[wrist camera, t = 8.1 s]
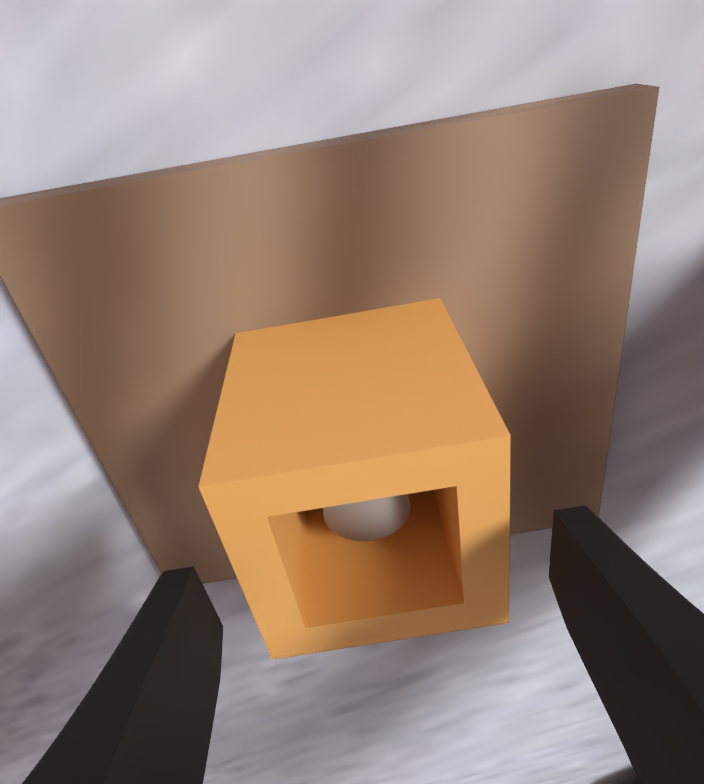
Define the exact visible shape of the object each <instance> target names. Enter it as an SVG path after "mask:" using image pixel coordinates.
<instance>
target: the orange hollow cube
mask: <svg viewBox="0 0 704 784" xmlns="http://www.w3.org/2000/svg"><path fill="white" fill-rule="evenodd" d="M510 444H511V435H510V433H509V431H508V429H507V427H506V425H505V424H504V422H503V420H502V418H501V416H500V414H499V412H498V410H497V408H496V406H495V404H494V402H493V400H492V398H491V396H490V394H489V392H488V390H487V388H486V386H485V384H484V383H483V381H482V379H481V377H480V375H479V373H478V371H477V369H476V367H475V365H474V363H473V361H472V359H471V357H470V355H469V353H468V351H467V349H466V347H465V345H464V343H463V342H462V340H461V338H460V336H459V334H458V332H457V330H456V328H455V326H454V324H453V322H452V320H451V318H450V316H449V314H448V312H447V310H446V308H445V306H444V304H443V302H442V300H441V299H440V298H439V299H433V300H427V301H421V302H415V303H410V304H404V305H398V306H392V307H386V308H380V309H375V310H369V311H363V312H357V313H351V314H346V315H340V316H334V317H328V318H322V319H317V320H311V321H305V322H299V323H293V324H288V325H282V326H276V327H270V328H264V329H258V330H253V331H247V332H241V333H236V334H235V338H234V342H233V346H232V350H231V354H230V358H229V363H228V367H227V371H226V375H225V379H224V383H223V387H222V392H221V396H220V400H219V404H218V408H217V412H216V416H215V420H214V425H213V429H212V433H211V437H210V441H209V445H208V449H207V454H206V458H205V462H204V466H203V470H202V474H201V478H200V482H199V489H200V492H201V494H202V496H203V499H204V501H205V503H206V506H207V508H208V510H209V513H210V515H211V518H212V520H213V522H214V525H215V527H216V529H217V532H218V534H219V536H220V539H221V541H222V543H223V546H224V548H225V550H226V553H227V555H228V557H229V560H230V562H231V564H232V567H233V569H234V572H235V574H236V576H237V579H238V581H239V583H240V586H241V588H242V590H243V593H244V595H245V597H246V600H247V602H248V604H249V607H250V609H251V611H252V614H253V616H254V618H255V621H256V623H257V625H258V628H259V630H260V633H261V635H262V637H263V640H264V642H265V644H266V647H267V649H268V651H269V654H270V656H271V658H272V659H279V658H285V657H291V656H298V655H304V654H311V653H317V652H324V651H330V650H336V649H343V648H349V647H356V646H362V645H369V644H375V643H381V642H388V641H394V640H401V639H407V638H414V637H420V636H426V635H433V634H439V633H446V632H452V631H459V630H465V629H471V628H478V627H484V626H491V625H497V624H504V623H509V540H510ZM404 494H408V496H409V500H410V514H409V517H408V519H407V520H406V522H405V523H404V524H403V526H402V527H401V528H399V529H398V530H397V531H396V532H394V533H393V534H391V535H389V536H386V537H384V538H381V539H377V540H372V541H354V540H349V539H346V538H343V537H341V536H339V535H337V534H336V533H334V532H333V531H332V530H331V529H330V528H329V527H328V526H327V524H326V522H325V519H324V515H323V508H324V507H331V506H337V505H343V504H349V503H355V502H361V501H368V500H374V499H380V498H386V497H392V496H398V495H404Z"/></svg>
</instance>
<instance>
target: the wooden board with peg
mask: <svg viewBox="0 0 704 784" xmlns="http://www.w3.org/2000/svg"><path fill="white" fill-rule="evenodd" d="M658 92H659V87H656V86H649V85H642V84H632V85H627V86H621V87H616V88H610V89H604V90H599V91H593V92H588V93H582V94H577V95H571V96H566V97H560V98H555V99H549V100H543V101H538V102H532V103H527V104H521V105H516V106H510V107H505V108H499V109H494V110H488V111H482V112H477V113H471V114H466V115H460V116H455V117H449V118H444V119H438V120H433V121H427V122H421V123H416V124H410V125H405V126H399V127H394V128H388V129H383V130H377V131H372V132H366V133H360V134H355V135H349V136H344V137H338V138H333V139H327V140H322V141H316V142H311V143H305V144H299V145H294V146H288V147H283V148H277V149H272V150H266V151H261V152H255V153H250V154H244V155H238V156H233V157H227V158H222V159H216V160H211V161H205V162H200V163H194V164H189V165H183V166H177V167H172V168H166V169H161V170H155V171H150V172H144V173H139V174H133V175H127V176H122V177H116V178H111V179H105V180H100V181H94V182H89V183H83V184H78V185H72V186H66V187H61V188H55V189H50V190H44V191H39V192H33V193H28V194H22V195H17V196H11V197H5V198H0V276H1V278H2V280H3V282H4V284H5V285H6V287H7V289H8V291H9V293H10V295H11V297H12V298H13V300H14V302H15V304H16V306H17V308H18V309H19V311H20V313H21V315H22V317H23V319H24V320H25V322H26V324H27V326H28V328H29V330H30V332H31V333H32V335H33V337H34V339H35V341H36V343H37V344H38V346H39V348H40V350H41V352H42V354H43V356H44V357H45V359H46V361H47V363H48V365H49V367H50V368H51V370H52V372H53V374H54V376H55V378H56V379H57V381H58V383H59V385H60V387H61V389H62V391H63V392H64V394H65V396H66V398H67V400H68V402H69V403H70V405H71V407H72V409H73V411H74V413H75V415H76V416H77V418H78V420H79V422H80V424H81V426H82V427H83V429H84V431H85V433H86V435H87V437H88V438H89V440H90V442H91V444H92V446H93V448H94V450H95V451H96V453H97V455H98V457H99V459H100V461H101V462H102V464H103V466H104V468H105V470H106V472H107V474H108V475H109V477H110V479H111V481H112V483H113V485H114V486H115V488H116V490H117V492H118V494H119V496H120V497H121V499H122V501H123V503H124V505H125V507H126V509H127V510H128V512H129V514H130V516H131V518H132V520H133V521H134V523H135V525H136V527H137V529H138V531H139V532H140V534H141V536H142V538H143V540H144V542H145V544H146V545H147V547H148V549H149V551H150V553H151V555H152V556H153V558H154V560H155V562H156V564H157V566H158V568H159V569H160V571H161V573H163V572H164V571H167V570H173V569H179V568H186V567H192V566H194V568H195V570H196V572H197V574H198V576H199V578H200V580H201V582H202V584H203V583H209V582H215V581H222V580H228V579H234V578H237V576H236V574H235V572H234V569H233V567H232V564H231V562H230V560H229V557H228V555H227V553H226V550H225V548H224V546H223V543H222V541H221V539H220V536H219V534H218V532H217V529H216V527H215V525H214V522H213V520H212V518H211V515H210V513H209V510H208V508H207V506H206V503H205V501H204V499H203V496H202V494H201V492H200V489H199V482H200V478H201V474H202V470H203V466H204V462H205V458H206V454H207V449H208V445H209V441H210V437H211V433H212V429H213V425H214V420H215V416H216V412H217V408H218V404H219V400H220V396H221V392H222V387H223V383H224V379H225V375H226V371H227V367H228V363H229V358H230V354H231V350H232V346H233V342H234V338H235V334H236V333H241V332H247V331H253V330H258V329H264V328H270V327H276V326H282V325H288V324H293V323H299V322H305V321H311V320H317V319H322V318H328V317H334V316H340V315H346V314H351V313H357V312H363V311H369V310H375V309H380V308H386V307H392V306H398V305H404V304H410V303H415V302H421V301H427V300H433V299H439V298H440V299H441V300H442V302H443V304H444V306H445V308H446V310H447V312H448V314H449V316H450V318H451V320H452V322H453V324H454V326H455V328H456V330H457V332H458V334H459V336H460V338H461V340H462V342H463V343H464V345H465V347H466V349H467V351H468V353H469V355H470V357H471V359H472V361H473V363H474V365H475V367H476V369H477V371H478V373H479V375H480V377H481V379H482V381H483V383H484V384H485V386H486V388H487V390H488V392H489V394H490V396H491V398H492V400H493V402H494V404H495V406H496V408H497V410H498V412H499V414H500V416H501V418H502V420H503V422H504V424H505V425H506V427H507V429H508V431H509V433H510V435H511V444H510V534H516V533H523V532H529V531H535V530H542V529H548V528H552V527H553V514H554V510H558V509H564V508H571V507H577V506H584V505H585V506H587V507H588V508H590V509H591V510H592V511H593V512H594V513H595V514H596V515H597V516H598V517H599V510H600V503H601V496H602V489H603V482H604V475H605V468H606V461H607V454H608V446H609V439H610V432H611V425H612V418H613V411H614V404H615V397H616V390H617V383H618V376H619V369H620V361H621V354H622V347H623V340H624V333H625V326H626V319H627V312H628V305H629V298H630V291H631V284H632V276H633V269H634V262H635V255H636V248H637V241H638V234H639V227H640V220H641V213H642V206H643V199H644V191H645V184H646V177H647V170H648V163H649V156H650V149H651V142H652V135H653V128H654V121H655V114H656V106H657V99H658ZM409 514H410V500H409V496H408V494H404V495H398V496H392V497H386V498H380V499H374V500H368V501H361V502H355V503H349V504H343V505H337V506H331V507H324V508H323V515H324V519H325V522H326V524H327V526H328V527H329V528H330V529H331V530H332V531H333V532H334V533H336V534H337V535H339V536H341V537H343V538H346V539H349V540H354V541H372V540H377V539H381V538H384V537H386V536H389V535H391V534H393V533H394V532H396V531H397V530H398V529H399V528H401V527H402V526H403V524H404V523H405V522H406V520H407V519H408V517H409Z"/></svg>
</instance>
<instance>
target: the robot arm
mask: <svg viewBox="0 0 704 784" xmlns="http://www.w3.org/2000/svg"><path fill="white" fill-rule="evenodd" d="M549 579H550V582H551V585H552V588H553V591H554V593H555V596H556V599H557V602H558V605H559V608H560V611H561V613H562V616H563V619H564V622H565V624H566V627H567V629H568V631H569V634H570V636H571V638H572V640H573V642H574V644H575V646H576V648H577V651H578V653H579V655H580V657H581V659H582V661H583V663H584V665H585V667H586V669H587V671H588V674H589V676H590V678H591V680H592V682H593V684H594V686H595V688H596V690H597V692H598V694H599V696H600V698H601V700H602V702H603V705H604V707H605V709H606V711H607V713H608V715H609V717H610V719H611V721H612V723H613V725H614V727H615V729H616V731H617V734H618V736H619V738H620V740H621V742H622V744H623V746H624V748H625V751H626V753H627V755H628V757H629V760H630V762H631V764H632V766H633V769H634V771H635V773H636V776H637V778H638V781H639V783H640V784H704V613H702V612H701V611H700V610H699V609H698V608H696V607H695V606H694V605H693V604H692V603H691V602H689V601H688V600H687V599H686V598H685V597H684V596H683V595H681V594H680V593H679V592H678V591H677V590H676V589H675V588H673V587H672V586H671V585H670V584H669V583H668V582H667V581H666V580H664V579H663V578H662V577H661V576H660V575H659V574H658V573H657V572H655V571H654V570H653V569H652V568H651V567H650V566H649V565H648V564H647V563H646V562H645V561H643V560H642V559H641V558H640V557H639V556H638V555H637V554H636V553H635V552H634V551H633V550H632V549H631V548H630V547H629V546H628V545H627V544H625V543H624V542H623V541H622V540H621V539H620V538H619V537H618V536H617V535H616V534H615V533H614V532H613V531H612V530H611V529H610V528H609V527H608V526H607V525H606V524H605V523H604V522H603V521H602V520H601V519H600V518H599V517H598V516H597V515H596V514H595V513H594V512H593V511H592V510H591V509H590V508H588V507H587V506H585V505H584V506H577V507H571V508H564V509H558V510H554V514H553V527H552V540H551V554H550V567H549ZM222 639H223V625H222V623H221V621H220V619H219V617H218V615H217V613H216V611H215V609H214V607H213V605H212V603H211V601H210V598H209V596H208V594H207V592H206V590H205V588H204V586H203V584H202V582H201V580H200V578H199V576H198V574H197V572H196V570H195V568H194V566H192V567H186V568H179V569H173V570H167V571H164V572H163V573H162V574H161V576H160V577H159V579H158V581H157V582H156V584H155V586H154V587H153V589H152V591H151V592H150V594H149V596H148V597H147V599H146V601H145V602H144V604H143V606H142V607H141V609H140V611H139V612H138V614H137V616H136V617H135V619H134V621H133V622H132V624H131V625H130V627H129V629H128V630H127V632H126V634H125V635H124V637H123V639H122V640H121V642H120V643H119V645H118V647H117V648H116V650H115V651H114V653H113V654H112V656H111V658H110V659H109V661H108V662H107V664H106V665H105V667H104V668H103V670H102V672H101V673H100V675H99V676H98V678H97V679H96V681H95V682H94V684H93V686H92V687H91V689H90V690H89V692H88V693H87V694H86V696H85V697H84V699H83V700H82V702H81V703H80V705H79V706H78V707H77V709H76V710H75V712H74V713H73V715H72V716H71V718H70V719H69V720H68V722H67V723H66V725H65V726H64V728H63V729H62V731H61V732H60V733H59V735H58V736H57V738H56V739H55V740H54V742H53V743H52V745H51V746H50V747H49V749H48V750H47V751H46V753H45V754H44V755H43V757H42V758H41V760H40V761H39V762H38V764H37V765H36V766H35V767H34V769H33V770H32V771H31V773H30V774H29V775H28V777H27V778H26V779H25V781H24V782H23V783H22V784H203V779H204V773H205V767H206V761H207V756H208V750H209V744H210V738H211V732H212V726H213V720H214V714H215V708H216V702H217V696H218V690H219V684H220V674H221V659H222Z"/></svg>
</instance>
